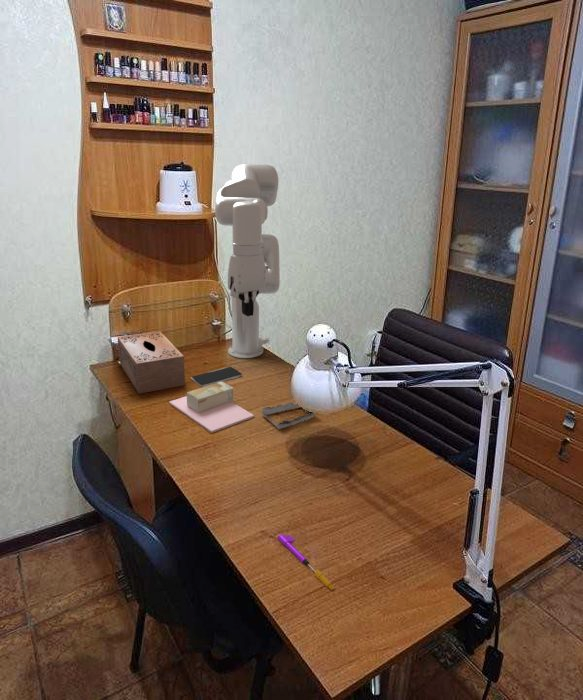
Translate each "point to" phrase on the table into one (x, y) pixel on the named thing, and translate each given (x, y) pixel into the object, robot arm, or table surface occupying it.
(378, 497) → the table surface
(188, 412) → the nail mat
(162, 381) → the tissue box cover
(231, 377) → the smartphone
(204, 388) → the skincare box
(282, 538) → the purple and yellow tool
